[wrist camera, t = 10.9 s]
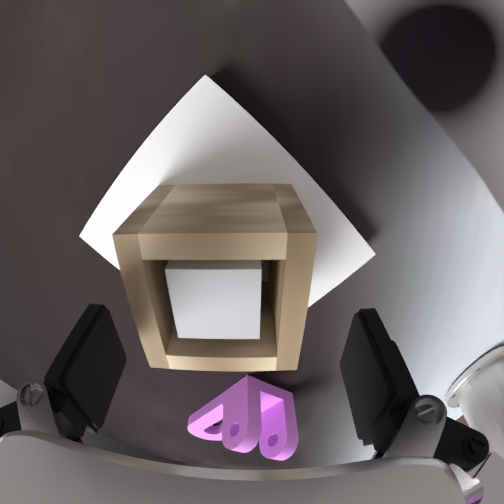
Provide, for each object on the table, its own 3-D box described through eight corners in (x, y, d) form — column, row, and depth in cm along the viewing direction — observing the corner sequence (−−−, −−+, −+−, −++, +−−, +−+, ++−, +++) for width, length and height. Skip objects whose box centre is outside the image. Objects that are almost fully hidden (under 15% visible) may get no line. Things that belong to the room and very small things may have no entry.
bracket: (247, 373, 24) (248, 441, 18) (292, 391, 26) (300, 453, 20) (180, 421, 29) (174, 471, 23) (219, 434, 31) (218, 482, 25)
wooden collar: (291, 184, 15) (317, 233, 9) (283, 294, 18) (296, 369, 13) (157, 185, 14) (112, 234, 9) (172, 294, 18) (150, 367, 13)
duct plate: (367, 243, 18) (415, 310, 12) (239, 340, 22) (239, 417, 16) (208, 77, 13) (181, 56, 7) (89, 226, 17) (32, 286, 11)
